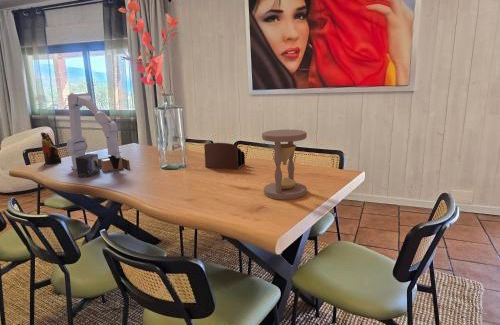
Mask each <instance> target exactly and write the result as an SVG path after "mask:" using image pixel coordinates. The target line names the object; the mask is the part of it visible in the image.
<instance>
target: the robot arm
mask: <svg viewBox="0 0 500 325" xmlns="http://www.w3.org/2000/svg"><path fill="white" fill-rule="evenodd" d="M67 101H68V102H67V103H68V104H67V105H68V106H67V107H68V113H69V124H70V125H69V126H70V134H71V135H70V137H69V138H68V139H67V140H66V141H67V142H66V150H67V152H68V153H69V154H70V155H71V158H70V159H71V163H72V165H71V166H70V167H71V168H72V169H73V170H75V171H77V166H76V159H75V158H76V157H80V156H83V155H86V152H87V149H88V143H87V139H86V137H84V136H83V134H82V121H81V119H82V118H81V108H82V107H86V109H88V110H89V112H91V113H92V114H93V116H94V119H95V121H96V122H97V123H98V124H99V125H100V126H101V130H102V133H104V137H105V140H106V141H105V142H106V149H107V155H108V156H107V157H108V158H109V159H110V161H111V163H112V166H113V168H114V169H116V170H119V169H118V167H119V160H120V158H121V156H122V155H120V154H122V151H121V150H120V147H119V146H120V145H119V140H118V133H117V132H118V131H119V124H118V123H117V121H114V120H112V119H110V117H109V116H108V115H107V114H106V112H104V111H101V110H100V109H99V108H98V107H97V105H96V104H95V103H94V101H93V100H92V96H91V95H90V94H89V93H88V92H87V91H84V92H70V93H69V94H68V95H67Z"/></svg>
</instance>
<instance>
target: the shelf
mask: <svg viewBox="0 0 500 325" xmlns="http://www.w3.org/2000/svg"><path fill="white" fill-rule="evenodd" d="M120 156H121V158H122V164H123V168H124V169H127V170H130V169H131V165H130V160H129V159H128V158H125V157H123V156H122V155H120ZM108 157H109V156H107V157H103V158H98V161H99V168H100V167H101V168H102V165H101V160H102V159H108Z"/></svg>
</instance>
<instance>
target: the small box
mask: <svg viewBox="0 0 500 325" xmlns="http://www.w3.org/2000/svg"><path fill="white" fill-rule="evenodd" d="M75 159H76V166H77V169H76V171H77V177H78V178H89V177H92V176H94V175H96V174H100V173H101V169H100V168H99V161H98V159H99V154H98V153H85V155H83V156H80V157H76V158H75ZM99 172H100V173H99Z"/></svg>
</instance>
